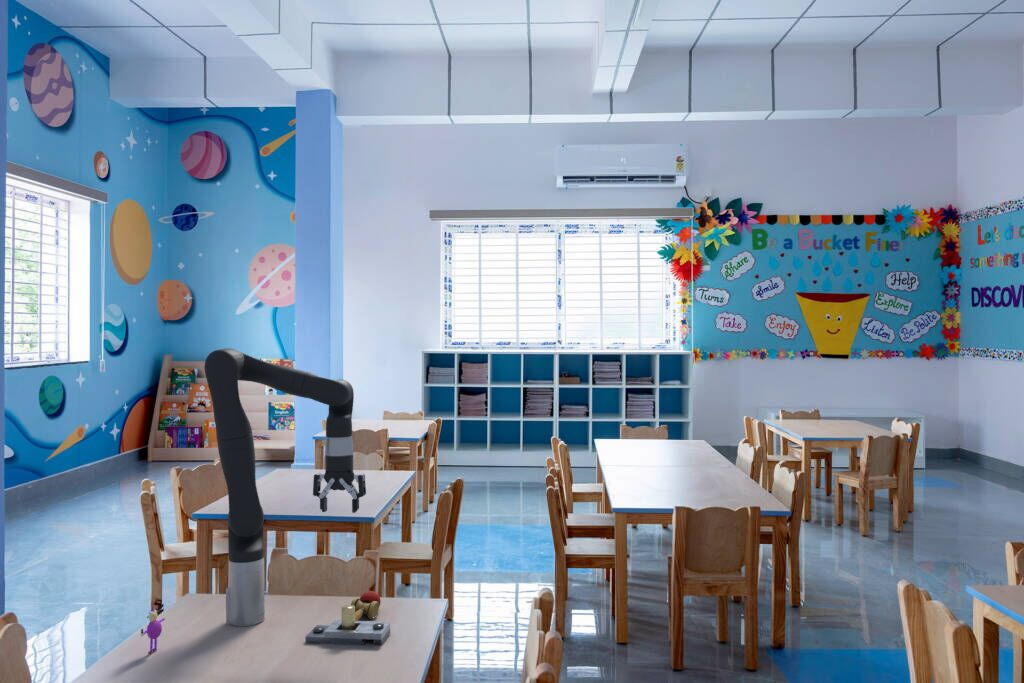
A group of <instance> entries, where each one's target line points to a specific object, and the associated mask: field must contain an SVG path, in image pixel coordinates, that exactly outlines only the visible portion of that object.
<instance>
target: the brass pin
mask: <svg viewBox="0 0 1024 683" xmlns="http://www.w3.org/2000/svg"><path fill="white" fill-rule="evenodd" d="M341 620H342V630H355V606H354V605H351V604H346V605H343V606H342V607H341Z"/></svg>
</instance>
